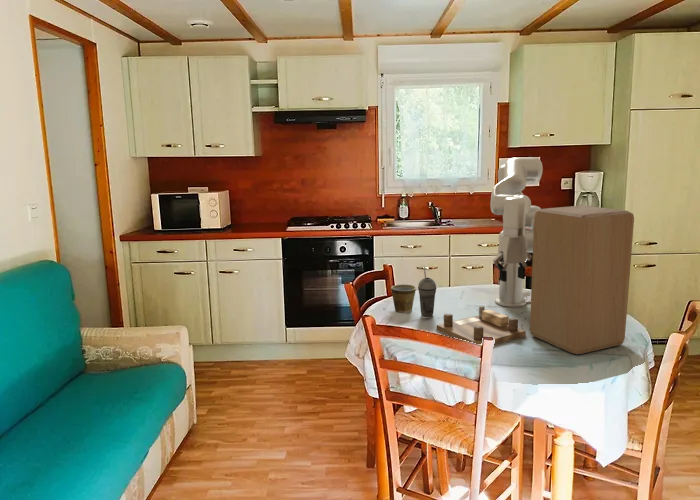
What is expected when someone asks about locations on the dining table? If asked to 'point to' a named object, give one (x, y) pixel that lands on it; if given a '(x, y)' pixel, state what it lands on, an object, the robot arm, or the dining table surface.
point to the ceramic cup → (403, 297)
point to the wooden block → (581, 277)
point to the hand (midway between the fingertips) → (512, 279)
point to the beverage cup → (427, 296)
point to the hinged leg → (495, 318)
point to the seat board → (486, 331)
